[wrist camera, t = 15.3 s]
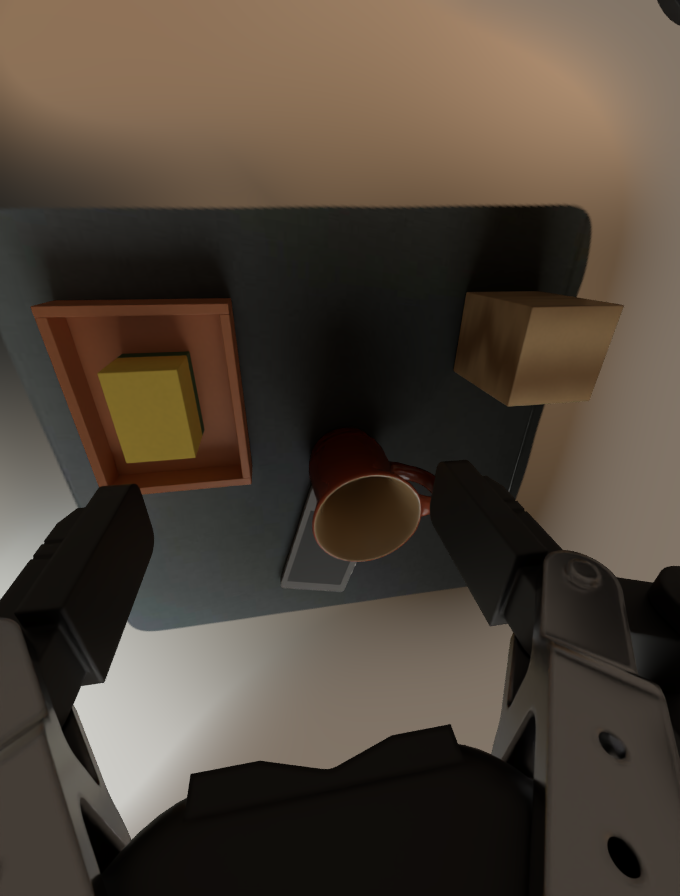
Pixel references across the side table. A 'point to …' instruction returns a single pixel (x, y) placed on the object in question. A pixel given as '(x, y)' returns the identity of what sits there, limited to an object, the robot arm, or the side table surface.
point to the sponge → (154, 405)
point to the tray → (150, 331)
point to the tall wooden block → (534, 345)
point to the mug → (363, 497)
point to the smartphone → (313, 559)
